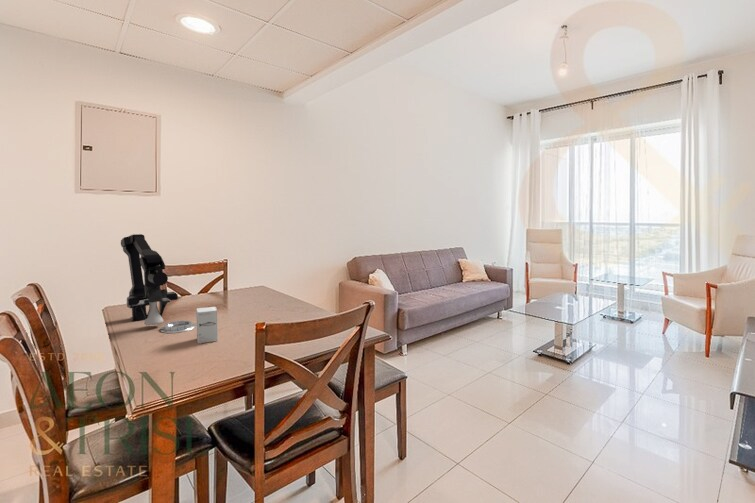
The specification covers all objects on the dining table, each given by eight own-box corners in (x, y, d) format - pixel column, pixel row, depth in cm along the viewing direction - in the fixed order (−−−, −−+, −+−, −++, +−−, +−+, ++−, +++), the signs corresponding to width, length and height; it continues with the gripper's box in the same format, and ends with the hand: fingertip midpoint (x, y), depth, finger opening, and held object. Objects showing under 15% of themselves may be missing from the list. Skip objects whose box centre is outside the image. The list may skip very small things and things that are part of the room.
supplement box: (197, 344, 144) (196, 312, 143) (196, 338, 151) (195, 307, 150) (218, 341, 148) (217, 310, 147) (216, 335, 154) (215, 306, 153)
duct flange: (157, 327, 165) (157, 323, 165) (191, 321, 174) (191, 317, 174) (163, 335, 154) (163, 330, 154) (199, 328, 163) (199, 324, 163)
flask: (154, 326, 161) (153, 303, 160) (140, 325, 162) (139, 302, 161) (167, 321, 168) (166, 299, 167) (153, 320, 169) (152, 298, 168)
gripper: (129, 287, 151) (131, 325, 152) (180, 282, 163) (181, 317, 164) (125, 283, 159) (127, 319, 161) (174, 279, 171) (175, 312, 173)
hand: (153, 317), depth 165 cm, fingers closed on flask, 5 cm apart
